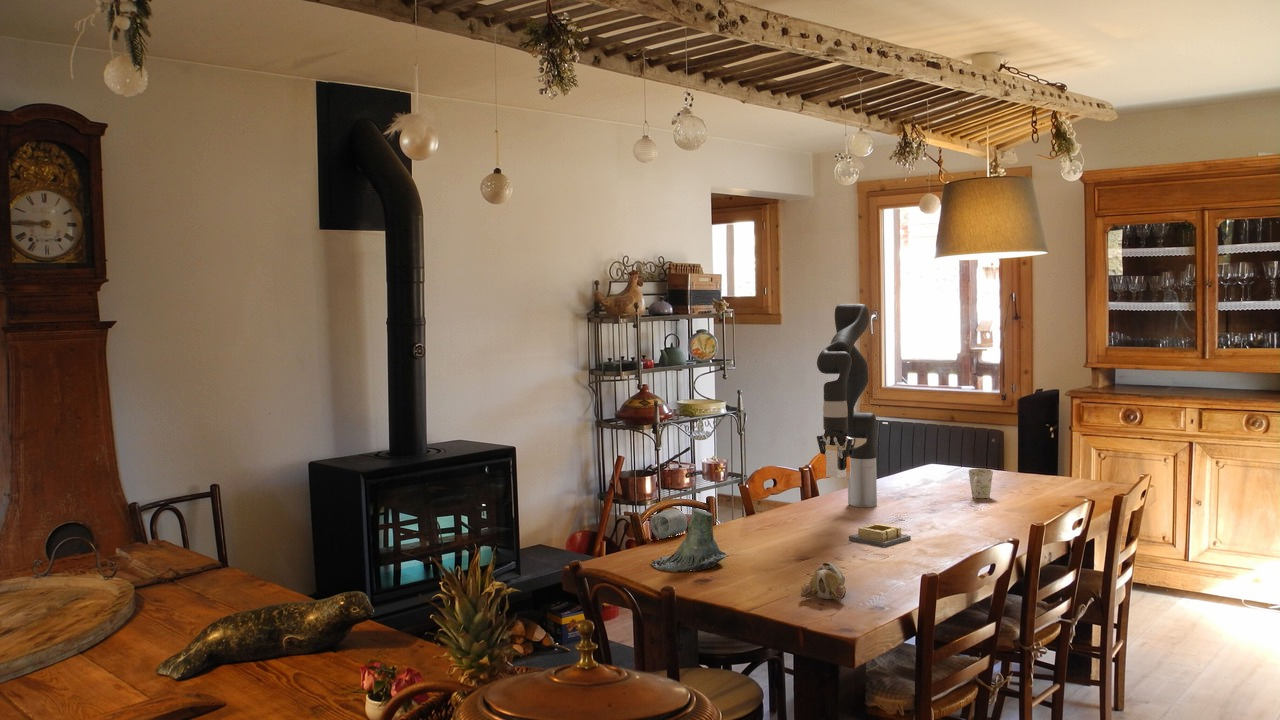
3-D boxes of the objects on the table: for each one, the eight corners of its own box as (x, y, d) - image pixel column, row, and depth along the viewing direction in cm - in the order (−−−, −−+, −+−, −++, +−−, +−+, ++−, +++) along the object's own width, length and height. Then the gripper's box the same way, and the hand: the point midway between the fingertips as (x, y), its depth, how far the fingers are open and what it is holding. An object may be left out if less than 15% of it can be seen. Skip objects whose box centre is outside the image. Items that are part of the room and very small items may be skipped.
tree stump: (653, 557, 283) (667, 497, 282) (721, 574, 281) (734, 514, 280) (647, 571, 265) (662, 506, 264) (719, 589, 263) (734, 524, 262)
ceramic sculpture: (852, 555, 242) (841, 574, 228) (853, 589, 243) (843, 610, 229) (810, 553, 246) (797, 571, 232) (811, 586, 247) (798, 607, 233)
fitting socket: (848, 540, 296) (848, 528, 296) (875, 533, 304) (874, 521, 304) (884, 547, 286) (884, 534, 286) (910, 539, 294) (910, 527, 294)
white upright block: (825, 476, 307) (825, 444, 306) (835, 474, 310) (834, 443, 309) (837, 478, 303) (837, 446, 303) (846, 476, 306) (846, 444, 306)
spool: (667, 532, 298) (661, 501, 303) (646, 542, 304) (640, 512, 308) (697, 535, 308) (690, 505, 312) (676, 545, 313) (670, 516, 318)
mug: (995, 496, 358) (995, 469, 358) (987, 502, 348) (987, 474, 347) (972, 494, 363) (971, 468, 362) (963, 500, 352) (963, 473, 352)
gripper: (809, 414, 309) (810, 468, 309) (846, 417, 298) (847, 473, 299) (825, 412, 313) (826, 465, 314) (861, 415, 303) (862, 470, 303)
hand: (836, 468), depth 306 cm, fingers closed on white upright block, 4 cm apart
